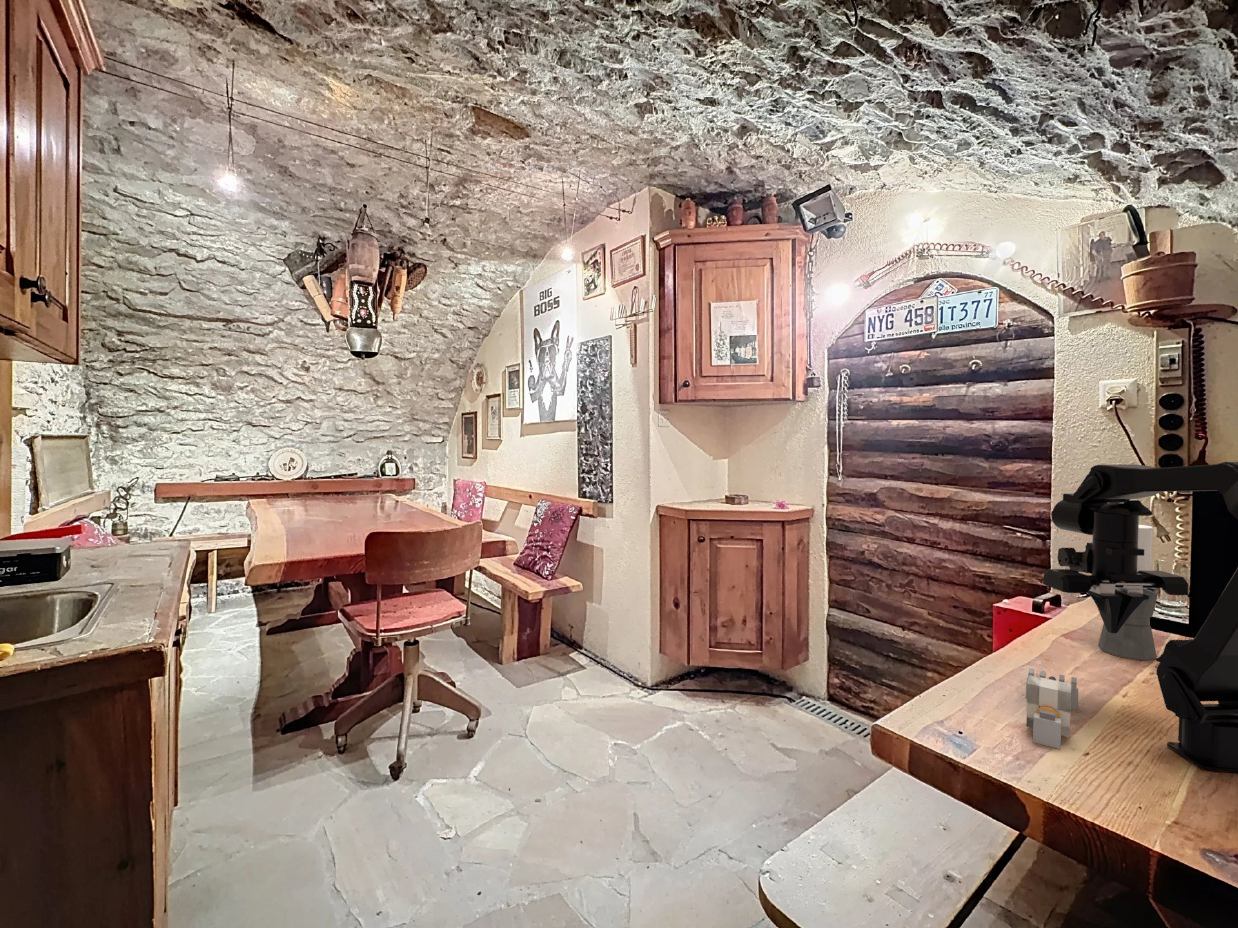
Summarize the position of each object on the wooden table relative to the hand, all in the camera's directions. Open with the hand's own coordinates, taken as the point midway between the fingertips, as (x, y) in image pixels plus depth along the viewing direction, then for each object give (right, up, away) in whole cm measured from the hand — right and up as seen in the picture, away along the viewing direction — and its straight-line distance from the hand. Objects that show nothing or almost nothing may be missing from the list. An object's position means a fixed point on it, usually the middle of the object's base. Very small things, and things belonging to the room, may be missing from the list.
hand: (1111, 632), depth 95 cm
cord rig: (-14, -13, -4) cm, 19 cm away
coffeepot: (+24, -12, +25) cm, 37 cm away
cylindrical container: (+34, -11, +35) cm, 50 cm away
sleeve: (-17, -13, -8) cm, 22 cm away
